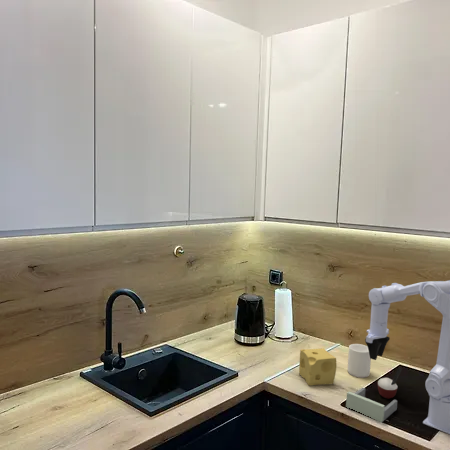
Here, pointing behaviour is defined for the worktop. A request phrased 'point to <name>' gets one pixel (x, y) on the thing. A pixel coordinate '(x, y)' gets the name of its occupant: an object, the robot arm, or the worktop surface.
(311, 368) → the cheese
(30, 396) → the worktop surface
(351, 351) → the cup
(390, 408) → the box
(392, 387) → the cocoa
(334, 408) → the worktop surface
